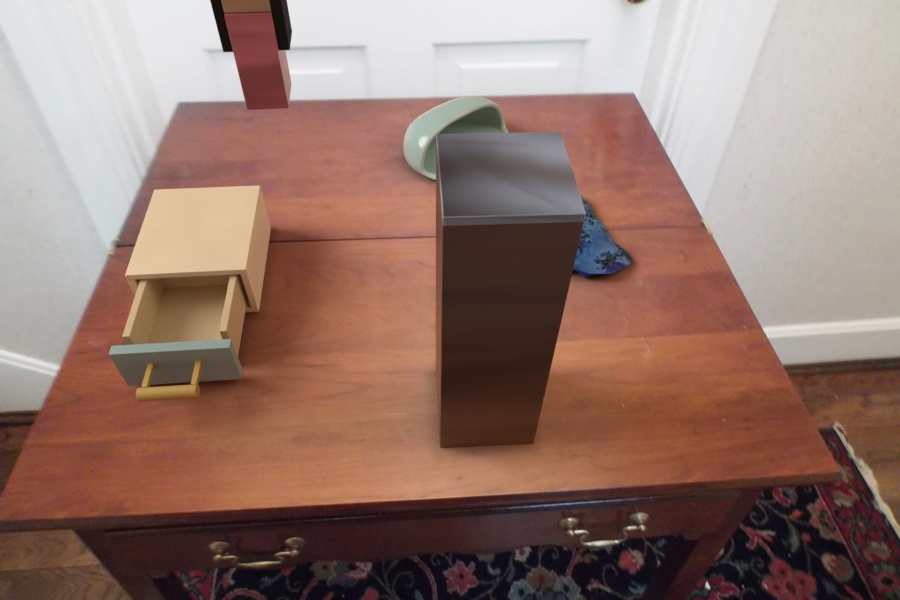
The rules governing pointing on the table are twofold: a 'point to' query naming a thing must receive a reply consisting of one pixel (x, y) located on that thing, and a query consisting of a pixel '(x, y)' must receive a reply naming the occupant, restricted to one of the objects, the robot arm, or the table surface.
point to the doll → (257, 54)
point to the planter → (449, 129)
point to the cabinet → (204, 237)
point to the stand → (500, 279)
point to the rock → (598, 248)
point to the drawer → (182, 335)
